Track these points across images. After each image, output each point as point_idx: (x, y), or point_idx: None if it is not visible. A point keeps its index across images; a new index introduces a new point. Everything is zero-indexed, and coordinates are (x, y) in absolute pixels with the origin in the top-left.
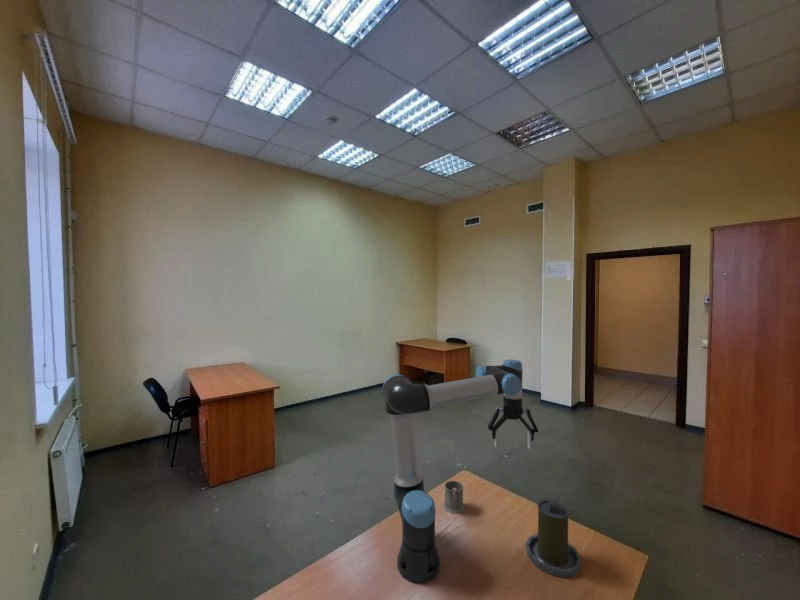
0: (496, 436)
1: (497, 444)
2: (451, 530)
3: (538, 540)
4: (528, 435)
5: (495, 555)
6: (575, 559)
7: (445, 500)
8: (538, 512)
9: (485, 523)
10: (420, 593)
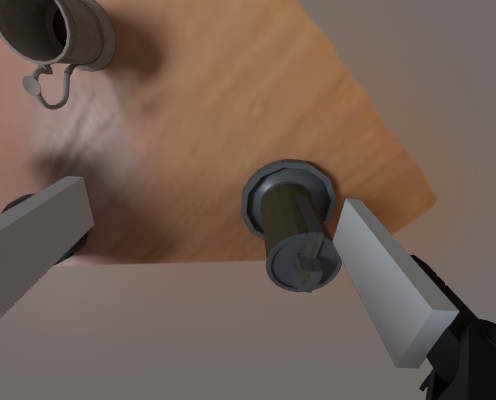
0: (8, 297)
1: (77, 239)
2: (91, 138)
3: (263, 214)
4: (391, 305)
5: (182, 202)
6: (322, 211)
7: (39, 36)
8: (267, 252)
9: (172, 110)
10: (69, 265)
